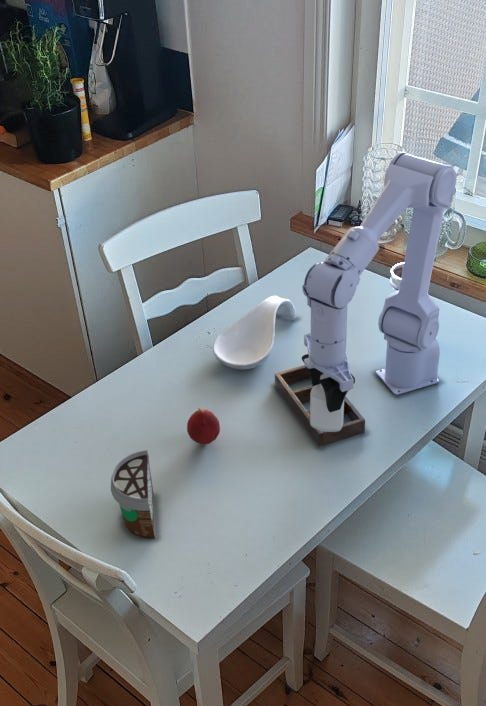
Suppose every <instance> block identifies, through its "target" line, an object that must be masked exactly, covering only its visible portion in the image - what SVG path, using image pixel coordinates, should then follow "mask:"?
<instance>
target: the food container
mask: <svg viewBox="0 0 486 706" xmlns="http://www.w3.org/2000/svg"><path fill="white" fill-rule="evenodd" d="M149 458H150V456H149V451H148V449H145V450H140V451H136V452H134V453H131V454H129V455H127V456H126V457H124V458H123V459H121V460H120V461H119V462H118V463H117V464H116V466H115V468H114V470H113V472H112V474H111V478H110V492H111V495H112V497H113V499H114V500H115V501H116V502H117V503H118V505H119V509H120V512H121V516H122V518H123V522H124V525H125V528H126V529H127V530H128V531H129V533H131V534H132V535H133V536H136V537H138V538H141V539H146V540H147V539H149V540H152V539H156V517H155V516H156V515H155V514H156V513H155V512H156V511H155V510H156V509H155V507H156V506H155V493H154V487H153V479H152V474H151V473H152V472H151V466H150V460H149Z"/></svg>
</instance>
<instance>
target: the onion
mask: <svg viewBox="0 0 486 706" xmlns="http://www.w3.org/2000/svg"><path fill="white" fill-rule="evenodd" d="M220 425H221V424H220V421H219V419H218V417H217V416H216V415H215V414H214V413H213V412H212V411H211V410H208V409H203V407H198V409H197V410H196V411H194V412H193V413H192V414H191V415H190V417H189V418H188V420H187V423H186V431H187V435H188V436H189V438H190V439H191V441H193V442H194V443H196V444H199V445H210V444H211V443H213V442H214V441H216V439H217V438H218V436H219V435H220V432H221V426H220Z"/></svg>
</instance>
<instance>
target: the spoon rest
mask: <svg viewBox="0 0 486 706" xmlns="http://www.w3.org/2000/svg"><path fill="white" fill-rule="evenodd" d="M276 315H278V316H281V317H284V318H288V319H292V320H293V319H296V318H297V317H298V316H297V310H296V307H295V305H294V303H293V302H292V301H291V300H290V299H288V298H281V297H279V296H278V295H270V296H269V297H266V298H265V299H264V300H262V301H261V302H260V303H259V304H257V306H255V307H254V308H252V310H250V311H249V312H248V313H246V314H245V315H243V316H242V317H240V318H239V319H238V320H236V321H235V322H234V323H232V324H231V325H230V326H228V327H227V328H226V329H225V330H223V331H222V332H220V334H219V335H218V336H217V337H216V338H215V340H214V342H213V344H212V352H213V355H214V357H215V358H216V360H218V361H219V362H220V363H221V364H222V365H224V366H225V367H228V368H231V369H234V370H250V369H254V368H257V367H258V366H260V365H261V364H263V363H264V362H265V361H266V360H267V359H268V357H269V356H270V355H271V353H272V350H273V347H274V343H275V332H276V331H275V330H276V327H275V326H276Z"/></svg>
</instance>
